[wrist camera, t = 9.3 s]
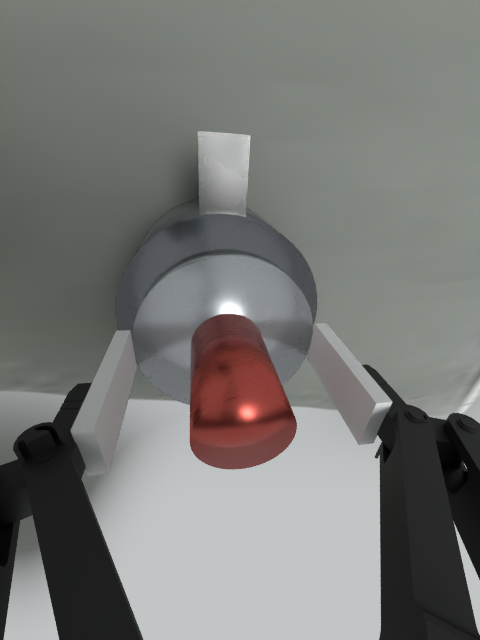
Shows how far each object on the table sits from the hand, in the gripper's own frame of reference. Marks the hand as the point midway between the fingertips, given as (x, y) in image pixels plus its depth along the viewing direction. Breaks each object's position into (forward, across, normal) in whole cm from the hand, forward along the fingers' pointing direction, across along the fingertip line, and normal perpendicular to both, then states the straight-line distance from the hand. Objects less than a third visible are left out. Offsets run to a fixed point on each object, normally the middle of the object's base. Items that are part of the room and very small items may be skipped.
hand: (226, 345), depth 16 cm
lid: (+2, 0, 0) cm, 2 cm away
